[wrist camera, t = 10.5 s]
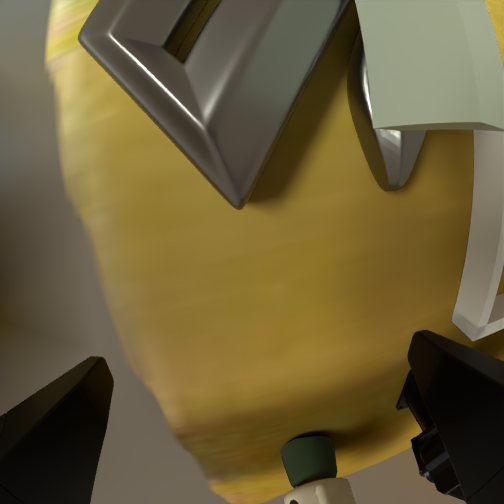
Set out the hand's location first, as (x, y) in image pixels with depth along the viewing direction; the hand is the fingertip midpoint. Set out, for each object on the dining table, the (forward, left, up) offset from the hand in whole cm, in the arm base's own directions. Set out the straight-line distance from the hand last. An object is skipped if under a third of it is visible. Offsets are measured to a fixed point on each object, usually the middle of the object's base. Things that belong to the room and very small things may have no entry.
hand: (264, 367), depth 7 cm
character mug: (-26, -5, -13) cm, 30 cm away
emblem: (+16, -4, -14) cm, 22 cm away
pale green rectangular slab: (+13, -8, -9) cm, 17 cm away
